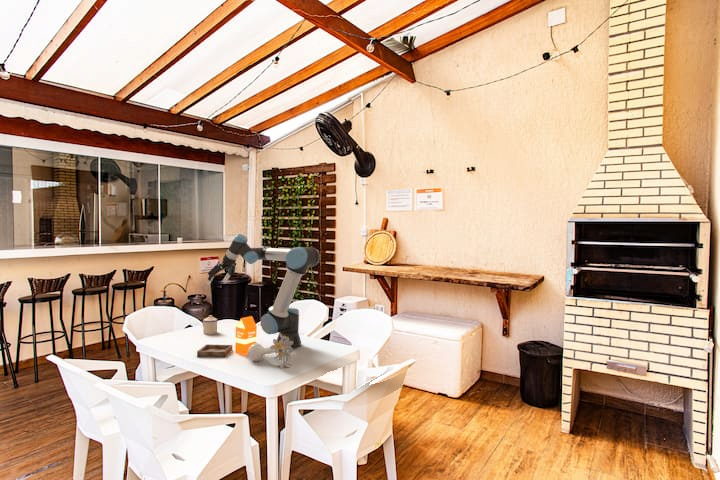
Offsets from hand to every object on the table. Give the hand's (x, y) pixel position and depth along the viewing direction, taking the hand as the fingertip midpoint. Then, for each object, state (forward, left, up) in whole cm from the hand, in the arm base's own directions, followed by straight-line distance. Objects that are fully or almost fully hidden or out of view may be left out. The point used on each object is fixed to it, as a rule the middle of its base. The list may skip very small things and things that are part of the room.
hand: (216, 283), depth 262 cm
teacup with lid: (+10, -17, -36) cm, 41 cm away
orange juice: (-26, +26, -36) cm, 52 cm away
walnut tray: (-10, +30, -36) cm, 48 cm away
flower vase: (-44, +46, -36) cm, 73 cm away
